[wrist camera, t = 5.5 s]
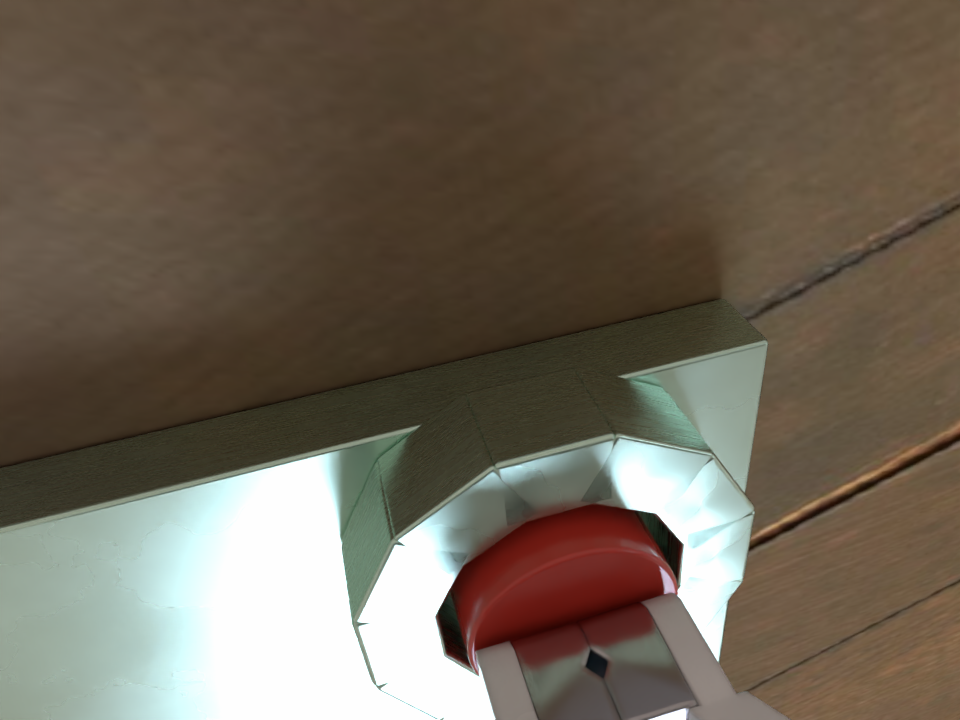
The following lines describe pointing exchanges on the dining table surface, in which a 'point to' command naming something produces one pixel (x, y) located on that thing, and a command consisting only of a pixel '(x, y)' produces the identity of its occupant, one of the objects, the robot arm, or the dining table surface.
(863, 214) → the dining table surface
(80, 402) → the dining table surface
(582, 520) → the button
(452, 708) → the green metallic slab
